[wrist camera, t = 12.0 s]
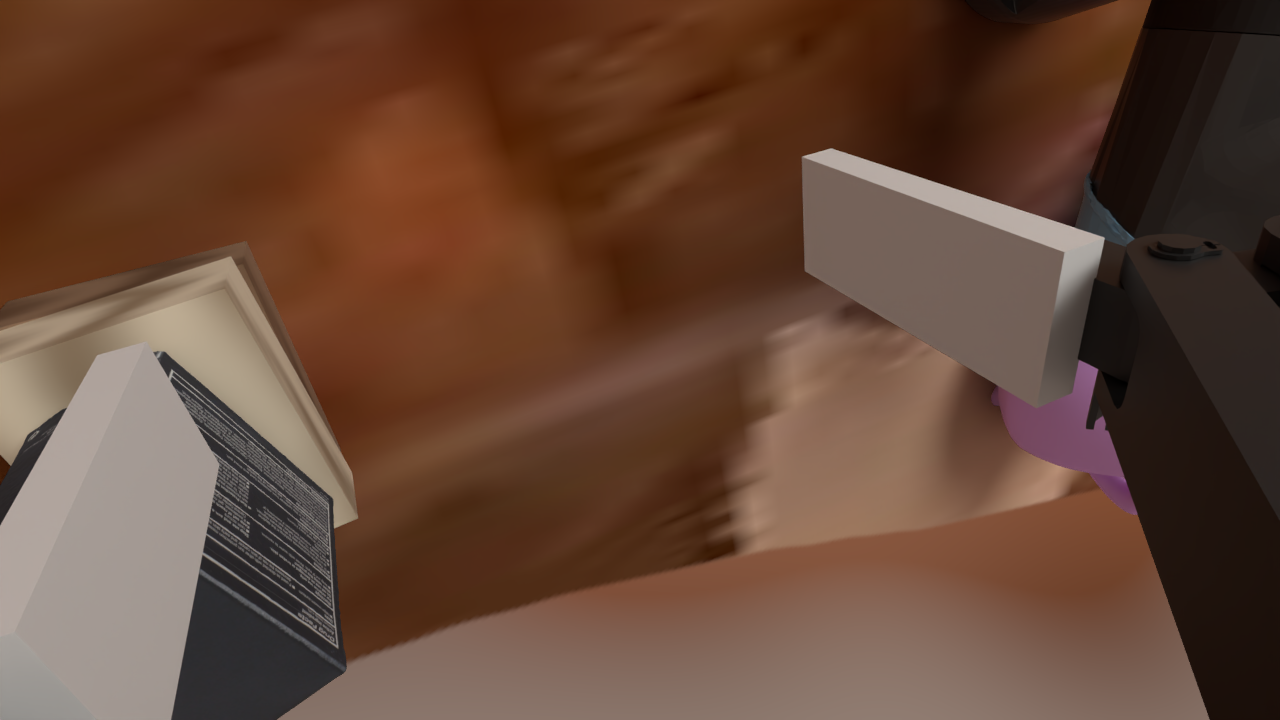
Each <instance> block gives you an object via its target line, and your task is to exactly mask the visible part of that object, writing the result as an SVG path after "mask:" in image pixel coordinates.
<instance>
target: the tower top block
mask: <svg viewBox="0 0 1280 720" xmlns="http://www.w3.org/2000/svg"><path fill="white" fill-rule="evenodd" d="M146 341H147V343H148V344H149V346H150V348H151V349H152V351H153V352H157V351H164V352H166V353H167V354H168V355H169V356H170V357H171V358H172V359H173V360H175V361H176V362H177V363H178V364H179V365H181V366H182V367H183V368H184V369H185V370H186V371H188V372H189V373H190V374H191V375H192V376H194V377H195V378H196V379H197V380H198V381H199V382H201V383H202V384H203V385H204V386H205V387H206V388H208V389H209V390H210V391H211V392H212V393H213V394H214V395H215V396H217V397H218V398H219V399H220V400H221V401H222V402H224V403H225V404H226V405H227V406H228V407H229V408H230V409H231V410H233V411H234V412H235V413H236V414H237V415H238V416H240V417H241V418H242V419H243V420H244V421H245V422H246V423H248V424H249V425H250V426H251V427H252V428H253V429H254V430H255V431H257V432H258V433H259V434H260V435H261V436H262V437H263V438H265V439H266V440H267V441H268V442H269V443H271V444H272V445H273V446H274V447H275V448H276V449H277V450H278V451H279V452H281V453H282V454H283V455H285V456H286V457H287V458H288V459H289V460H290V461H291V462H292V463H293V464H294V465H295V466H297V467H298V468H299V469H300V470H301V471H302V472H303V473H305V474H306V475H307V476H308V477H309V478H311V479H312V480H313V481H314V482H315V483H316V484H317V485H318V486H319V487H321V488H322V489H323V490H324V491H325V492H326V493H327V494H328V495H330V496H331V497H332V498H333V501H334V506H333V513H334V528H336V527H339V526H341V525H343V524H346V523H348V522H350V521H353V520H355V519H357V518H358V514H357V506H356V499H355V491H354V484H353V476H352V472H351V470H350V468H349V466H348V464H347V463H346V461H345V459H344V457H343V456H342V454H341V452H340V450H339V448H338V447H337V445H336V443H335V441H334V439H333V438H332V436H331V434H330V432H329V431H328V429H327V427H326V425H325V423H324V422H323V420H322V418H321V416H320V414H319V413H318V411H317V409H316V407H315V406H314V404H313V402H312V400H311V398H310V397H309V395H308V393H307V391H306V389H305V388H304V386H303V384H302V382H301V380H300V379H299V377H298V375H297V373H296V372H295V370H294V368H293V366H292V364H291V363H290V361H289V359H288V357H287V355H286V354H285V352H284V350H283V348H282V347H281V345H280V343H279V341H278V339H277V338H276V336H275V334H274V332H273V330H272V329H271V327H270V325H269V323H268V322H267V320H266V318H265V316H264V314H263V313H262V311H261V309H260V307H259V305H258V304H257V302H256V300H255V298H254V296H253V295H252V293H251V291H250V289H249V288H248V286H247V284H246V282H245V280H244V279H243V277H242V275H241V273H240V271H239V270H238V268H237V266H236V264H235V263H234V261H233V259H232V257H231V256H230V257H227V258H224V259H221V260H218V261H215V262H212V263H209V264H206V265H203V266H199V267H196V268H193V269H190V270H187V271H184V272H181V273H178V274H175V275H172V276H168V277H165V278H162V279H159V280H156V281H153V282H150V283H147V284H144V285H141V286H137V287H134V288H131V289H128V290H125V291H122V292H119V293H116V294H113V295H110V296H107V297H103V298H100V299H97V300H94V301H91V302H88V303H85V304H82V305H79V306H76V307H72V308H69V309H66V310H63V311H60V312H57V313H54V314H51V315H48V316H45V317H42V318H38V319H35V320H32V321H29V322H26V323H23V324H20V325H17V326H14V327H11V328H8V329H4V330H1V331H0V455H1V456H2V457H3V458H4V459H5V460H6V461H7V462H8V463H9V465H10V466H11V465H12V463H13V462H14V460H15V458H16V456H17V454H18V452H19V450H20V449H21V447H22V445H23V443H24V441H25V439H26V437H27V435H28V434H29V433H30V432H32V431H34V430H35V429H37V428H38V427H40V426H41V425H42V424H43V423H44V422H46V421H47V420H48V419H49V418H51V417H52V416H54V415H55V414H56V413H58V412H59V411H60V410H62V409H65V408H67V407H68V406H69V404H70V402H71V400H72V399H73V397H74V395H75V393H76V392H77V390H78V388H79V386H80V384H81V383H82V381H83V379H84V377H85V376H86V374H87V372H88V370H89V369H90V367H91V365H92V363H93V362H94V360H95V358H96V356H97V355H100V354H103V353H107V352H110V351H114V350H118V349H121V348H125V347H128V346H132V345H135V344H139V343H142V342H146Z"/></svg>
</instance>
